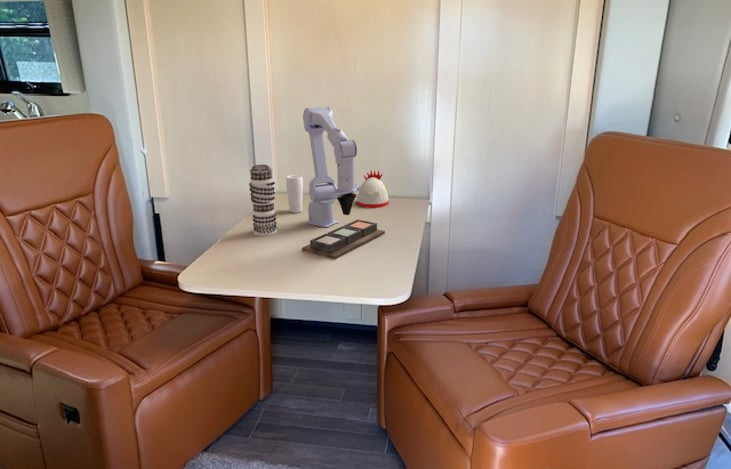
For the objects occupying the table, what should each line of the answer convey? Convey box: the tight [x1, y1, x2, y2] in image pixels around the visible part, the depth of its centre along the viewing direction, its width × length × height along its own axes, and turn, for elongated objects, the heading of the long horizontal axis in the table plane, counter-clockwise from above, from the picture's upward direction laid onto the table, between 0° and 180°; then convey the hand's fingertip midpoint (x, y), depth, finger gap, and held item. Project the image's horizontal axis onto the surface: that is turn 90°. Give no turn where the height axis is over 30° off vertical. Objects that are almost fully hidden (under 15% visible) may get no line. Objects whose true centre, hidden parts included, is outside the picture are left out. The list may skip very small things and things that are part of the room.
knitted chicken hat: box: [356, 169, 390, 209], centre depth 227 cm, size 14×14×15 cm
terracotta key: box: [350, 222, 372, 229], centre depth 190 cm, size 6×6×2 cm
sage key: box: [334, 228, 357, 236], centre depth 183 cm, size 6×6×2 cm
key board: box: [301, 219, 386, 260], centre depth 183 cm, size 14×30×4 cm, turn 146°
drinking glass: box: [285, 174, 304, 214], centre depth 216 cm, size 7×7×15 cm
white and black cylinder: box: [248, 164, 278, 237], centre depth 190 cm, size 9×9×25 cm
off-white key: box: [316, 236, 340, 244], centre depth 176 cm, size 6×6×2 cm
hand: (346, 214), depth 183 cm, fingers closed
